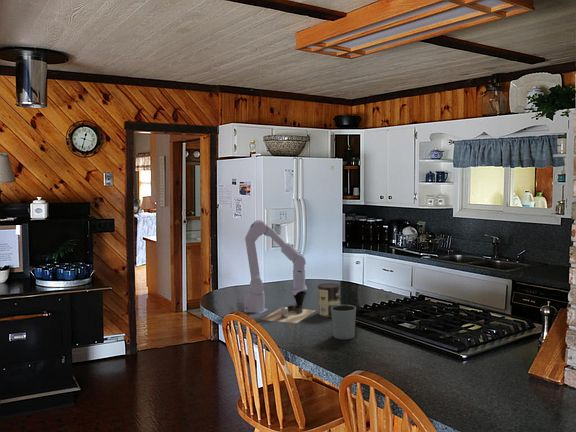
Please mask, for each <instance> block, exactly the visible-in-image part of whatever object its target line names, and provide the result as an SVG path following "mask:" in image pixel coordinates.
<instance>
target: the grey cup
mask: <svg viewBox="0 0 576 432" xmlns="http://www.w3.org/2000/svg"><path fill="white" fill-rule="evenodd" d="M331 313H332V318H331V320H332V330H333V332H332V333H333V337H334V339H337V340H350V339H351V340H352V339H354V338H355V336H356V331H355V329H356V314H357V307H356V306H354V305H351V304H340V305H336V306H333V307H331Z"/></svg>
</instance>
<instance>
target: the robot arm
mask: <svg viewBox="0 0 576 432" xmlns="http://www.w3.org/2000/svg"><path fill="white" fill-rule="evenodd" d="M262 235H264V236H265V237H270V238H271V239H272V240H273V241H274V242H275V243H276V244H277V245H278V246H279V247H280V248H281V249H280V251H281V253H282V254H283V255H284V256H285V257H286V258H287V259H288V260H289V261H290V262H292V264H293V266H292V267H293V270H292V272H293V273H292V278H293V279H292V280H293V282H292V283H293V286H292V287H293V288H292V290H291V296H293V297H294V300H295V303H296V304H295V305H299V306H302V307H303V303H304V300H305V297H306V294H307V290H308V287H307V285H306V270H305V268H306V267H305V265H306V264H307V263H306V262H307V261H306V258H305V257H304V256H303V255H302V254H301V252H300V251H298V249H296V248H295V247H294V246H295V245H294V244H293V243H290V242H286V241H284V239H282V238H281V236H280V235H279V234H278V233H277V232H276V231H275V230H274V229H273V228H272V227H271V226H269V225H268V224H267V223H265V222H264V221H263V220H262V219H256V220H254V222H252V224H251V225H250V227H249V229H248V231H247V233H246V236H245V239H244V241H245V246H246V254H247V260H248V267H249V273H250V274H249V275H250V283H249V287H250V291H249V292H247V293H245V295H244V297H243V298H244V299H243V300H244V310H243V312H244V313H248V312H249V313H257V314H262V313H264V312H266V311H268V310H269V309H268V308H266V305H265V303H266V302H265V299H266V298H265V291H264V289H265V286H264V282H263V280H262V278H261V274H260V267H259V262H258V261H259V260H258V254H257V246H256V241H257V240H258V239H259V238H260V237H261V236H262Z"/></svg>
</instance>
